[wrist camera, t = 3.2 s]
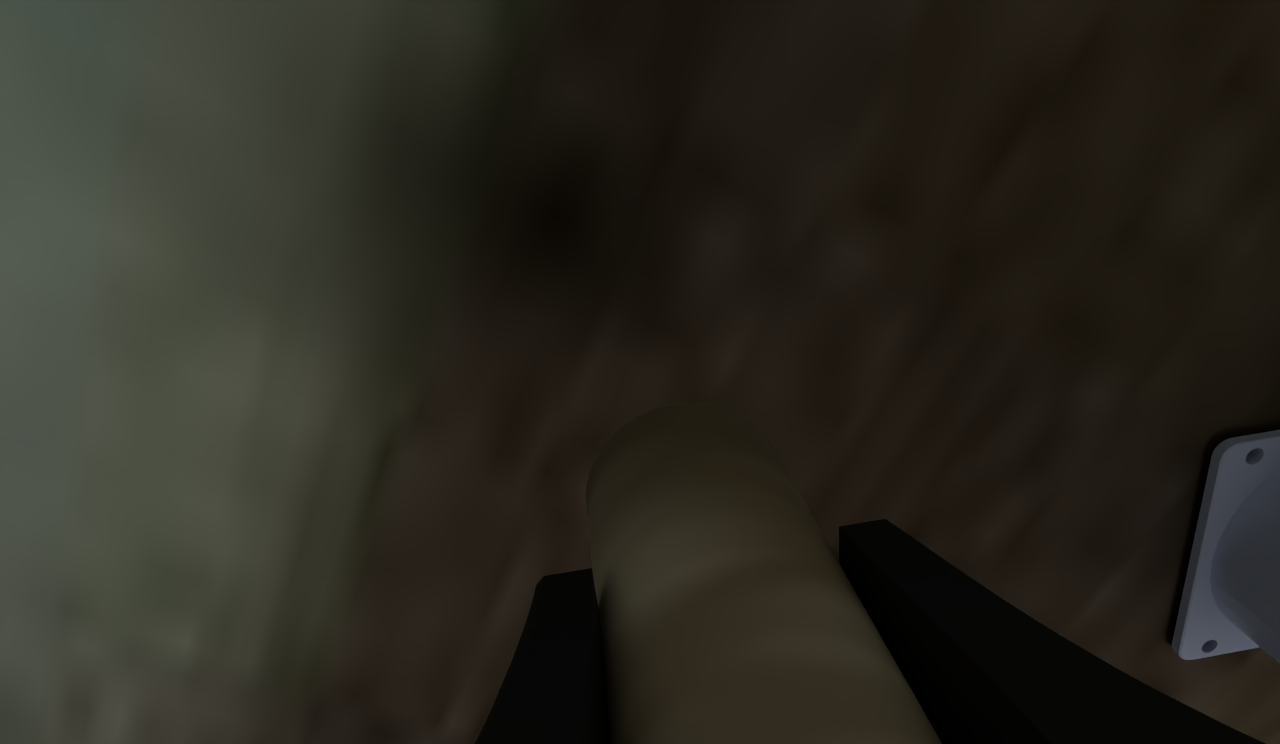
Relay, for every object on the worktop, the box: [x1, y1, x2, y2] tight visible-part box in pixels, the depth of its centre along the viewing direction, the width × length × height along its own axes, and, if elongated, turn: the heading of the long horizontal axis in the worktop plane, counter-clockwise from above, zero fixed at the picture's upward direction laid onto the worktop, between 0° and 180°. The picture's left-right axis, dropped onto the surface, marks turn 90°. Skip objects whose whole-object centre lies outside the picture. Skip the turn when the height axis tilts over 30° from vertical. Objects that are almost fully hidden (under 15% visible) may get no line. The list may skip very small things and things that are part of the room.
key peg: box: [586, 403, 942, 744], centre depth 9 cm, size 3×3×8 cm
